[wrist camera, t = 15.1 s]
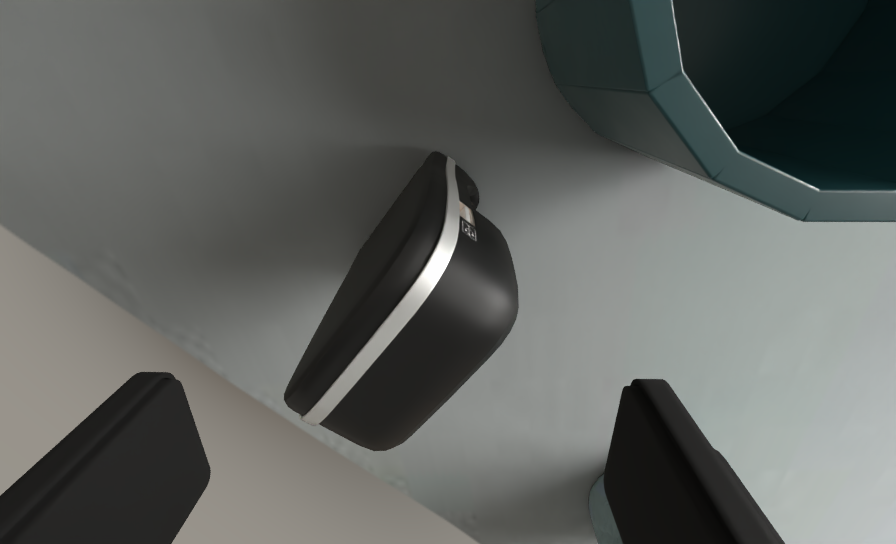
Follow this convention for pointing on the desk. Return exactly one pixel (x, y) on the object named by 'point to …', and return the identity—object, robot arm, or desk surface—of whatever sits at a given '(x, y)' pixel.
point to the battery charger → (409, 314)
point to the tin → (742, 94)
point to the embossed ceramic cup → (602, 515)
